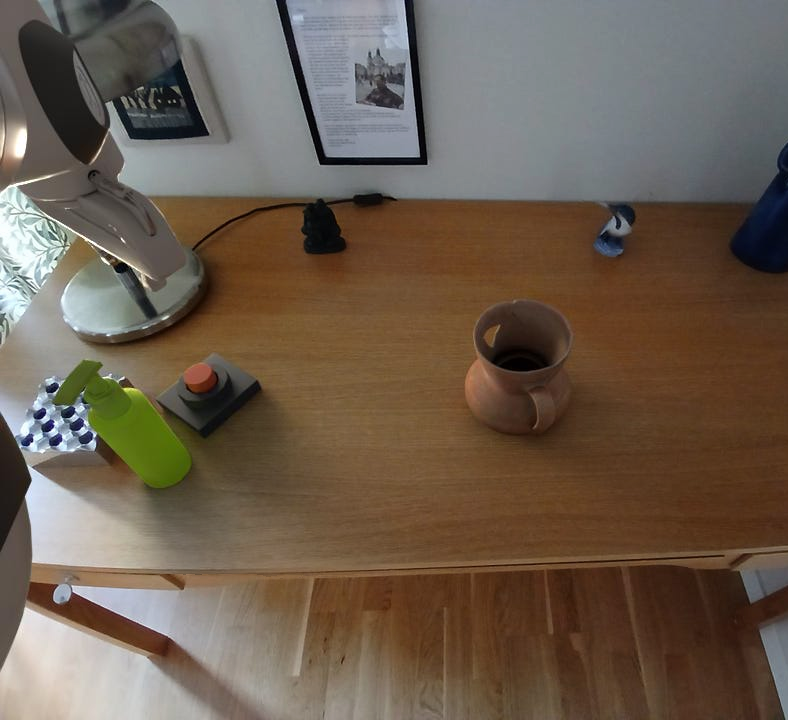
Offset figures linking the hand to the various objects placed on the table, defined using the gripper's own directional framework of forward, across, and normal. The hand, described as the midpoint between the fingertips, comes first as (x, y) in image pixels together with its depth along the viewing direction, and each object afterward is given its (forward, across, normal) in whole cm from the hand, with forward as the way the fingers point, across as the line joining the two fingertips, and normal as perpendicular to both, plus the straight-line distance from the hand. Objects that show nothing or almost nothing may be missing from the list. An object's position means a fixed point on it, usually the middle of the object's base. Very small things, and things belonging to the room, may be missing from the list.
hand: (135, 273), depth 60 cm
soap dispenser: (+23, -4, +11) cm, 26 cm away
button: (+19, 0, 0) cm, 19 cm away
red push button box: (+23, 0, 0) cm, 23 cm away
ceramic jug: (+23, -36, -23) cm, 49 cm away
